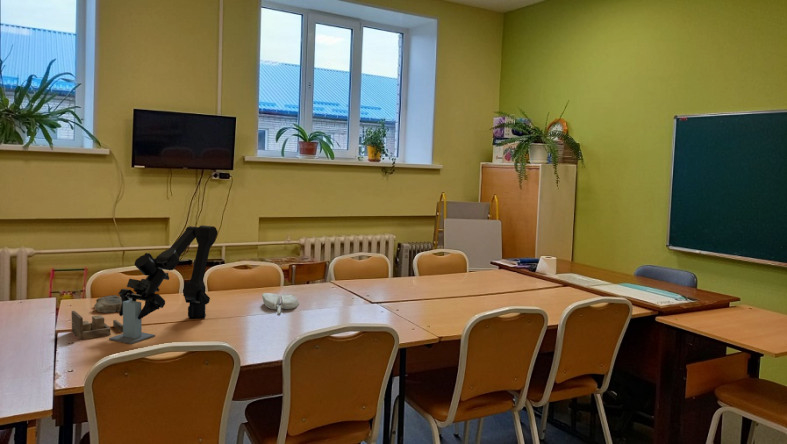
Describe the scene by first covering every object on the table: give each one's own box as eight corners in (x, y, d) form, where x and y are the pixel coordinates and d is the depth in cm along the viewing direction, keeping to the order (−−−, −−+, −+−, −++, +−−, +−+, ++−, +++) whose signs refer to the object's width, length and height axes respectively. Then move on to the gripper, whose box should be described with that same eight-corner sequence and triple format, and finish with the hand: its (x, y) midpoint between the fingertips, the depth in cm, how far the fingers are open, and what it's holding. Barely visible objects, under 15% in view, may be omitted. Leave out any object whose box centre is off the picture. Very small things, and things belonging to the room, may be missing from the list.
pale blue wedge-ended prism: (129, 334, 218) (129, 300, 216) (141, 336, 215) (141, 302, 214) (123, 336, 215) (122, 301, 214) (135, 338, 212) (134, 303, 211)
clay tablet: (93, 304, 262) (94, 314, 245) (93, 293, 262) (94, 303, 245) (127, 302, 269) (130, 312, 252) (127, 292, 269) (131, 301, 251)
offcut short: (87, 332, 220) (86, 320, 220) (90, 335, 216) (90, 323, 216) (78, 333, 218) (78, 321, 218) (81, 336, 214) (81, 325, 214)
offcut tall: (100, 330, 223) (100, 314, 223) (104, 333, 220) (104, 317, 219) (92, 331, 221) (92, 316, 221) (95, 334, 218) (95, 319, 217)
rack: (115, 325, 230) (114, 305, 229) (124, 332, 221) (124, 312, 220) (71, 331, 220) (71, 311, 219) (80, 339, 211) (79, 318, 210)
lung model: (299, 301, 281) (299, 319, 257) (262, 302, 278) (259, 321, 254) (299, 288, 280) (299, 305, 256) (262, 289, 277) (259, 306, 253)
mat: (133, 332, 222) (133, 330, 222) (155, 336, 218) (155, 334, 218) (109, 339, 212) (109, 337, 212) (131, 344, 208) (131, 342, 208)
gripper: (122, 267, 220) (97, 302, 211) (159, 272, 212) (135, 308, 203) (138, 284, 228) (115, 318, 219) (175, 290, 220) (152, 325, 211)
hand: (129, 317), depth 213 cm, fingers open, 9 cm apart
